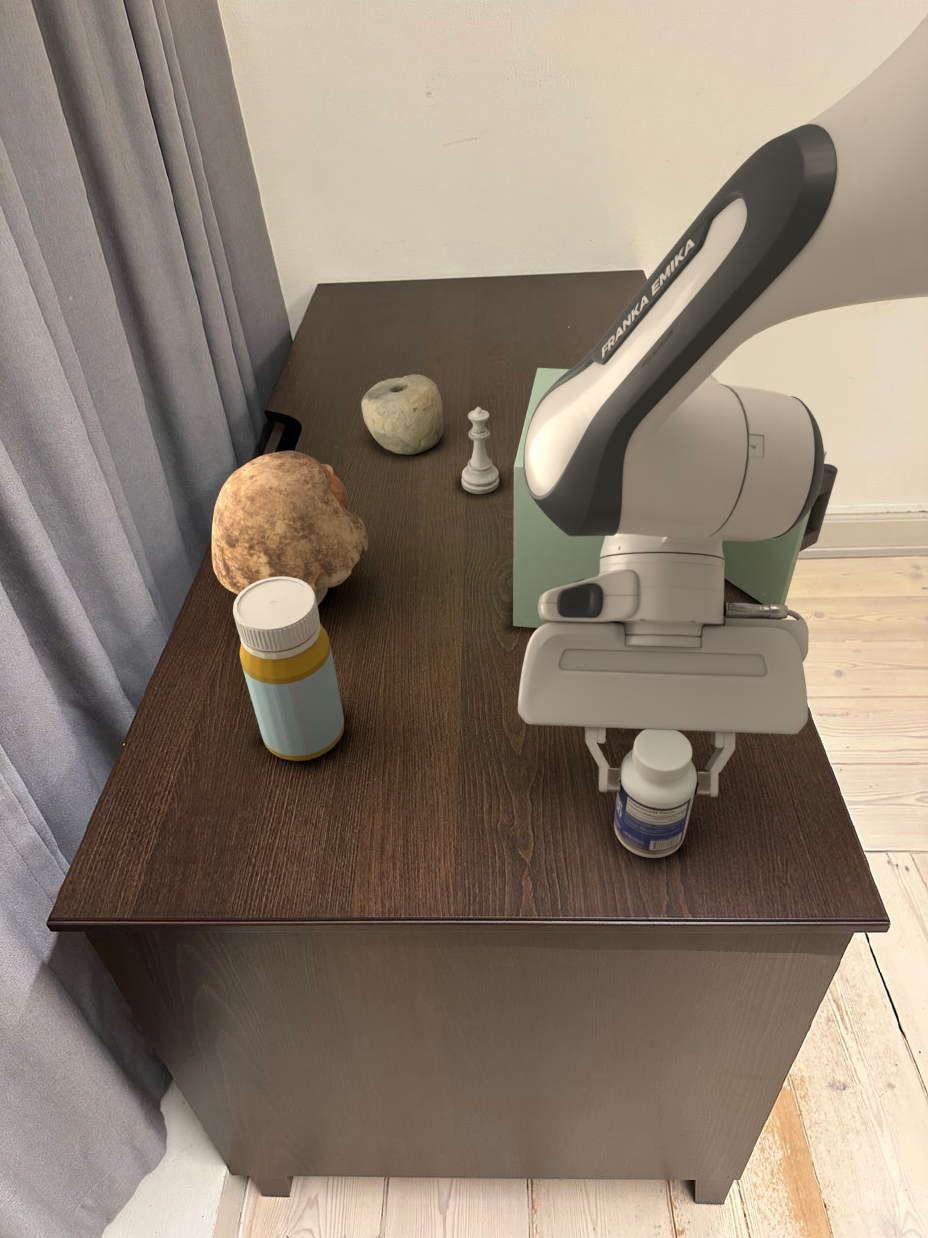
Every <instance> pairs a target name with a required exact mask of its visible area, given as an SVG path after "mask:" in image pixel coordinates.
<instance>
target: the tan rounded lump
mask: <svg viewBox="0 0 928 1238" xmlns="http://www.w3.org/2000/svg"><path fill="white" fill-rule="evenodd" d="M347 502H348V491H347V488H346V486H345V485H344V483H343V482H342V481H341V480H340V479H339V477H338V476H337V475H336V474H335V472H334V468H333V467H332V466H331V465H329V464H327V463H320V461H319V460H317V459H316V458H314V457H312V456H310V455H308V454H305V453H302V452H299V451H296V450H284V451H283V450H282V451H278V452H272V453H266V454H263V455H260V456H258V457H256V458H254V459H252V460H250V461H249V462H247V463H245V464H244V465H242V466H240V467H239V468H237V469H235V471H233V473H232V474H230V476H229V477H228V478H227V479H226V481H225V482H224V484H223V486H222V487H221V489H220V491H219V494H218V496H217V498H216V501H215V504H214V510H213V516H212V527H211V560H212V567H213V572H214V573H215V576H216V578H217V580H218V581H219V582H220V584H221V585H222V586H223V587H224V588H225V589H227V590H228V591H230V592H231V593H233V594H236V595H237V596H238V595H239V594H240V592H241V591H243V590H244V589H245V588H246V587H248V586H249V585H251V584H253V583H255V582H257V581H260V580H263V579H266V578H271V577H292V578H296V579H299V580H302V581H304V582H305V583H307V584H308V585H309V586H310V587H311V588H312V590H313V592H314V593H315V596H316V602H317V607H318V606H319V605H320V604H321V602H322V601H323V599H324V598H325V596H326V595H327V593H328V590H329V589H330V588H335V587H337V586H339V585H341V584H343V582H345V580H347V579H348V578H349V577H350V575H351V574H352V569H353V568H355V565H356V564H358V563H359V560H360V558H361V554H362V552H367V550H368V548H369V543H368V540H369V539H368V534H367V531H366V527H365V524H364V521H363V520H362V519H361V518H360V516H359V515H358V514H357V513H355V512H353V511H350V510H347V509H346V506H347ZM328 588H329V589H328Z"/></svg>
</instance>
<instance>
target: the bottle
mask: <svg viewBox="0 0 928 1238" xmlns="http://www.w3.org/2000/svg"><path fill="white" fill-rule="evenodd" d="M232 608H233V609H232V614H233V618H234V622H235V626H236V629H237V632H238V635H239V640H240V642H241V643H240V647H239V657H240V664H241V668H242V671H243V674H244V678H245V682H246V684H247V688H248V691H249V695H250V700H251V702H252V706H253V710H254V713H255V717H256V720H257V724H258V728H259V731H260V734H261V738H262V740H263V743H264V745H265V747H266V748H267V750H268V751H269V752H270V753H271V754H273V755H274V756H276V757H278V758H280V759H283V760H288V761H293V762H301V761H310V760H313V759H316V758H319V757H321V756H322V755H325V754H327V752H329V751H331V750H332V749H333V748H334V747H335V746H336V745H337V744H338V743H339V741H340V740H341V738H342V736H343V733H344V732H345V731H344V730H345V716H344V712H343V706H342V700H341V694H340V689H339V685H338V678H337V673H336V669H335V662H334V657H333V652H332V651H333V650H332V647H331V642H330V637H329V635H328V633H327V631H326V630H325V628H324V627H323V625H322V623H321V622H320V621H321V620H320V612H319V607H318V606H317V602H316V596H315V593H314V592H313V590H312V588H311V587H310V586H309V585H308V584H307V583H305V582H304V581H302V580H299V579H296V578H292V577H271V578H266V579H263V580H260V581H257V582H255V583H253V584H251V585H249V586H248V587H246V588H245V589H244V590H243V591H241V592H240V594H239V595H238V594H237V596H236V598H235V600H234V602H233V607H232Z"/></svg>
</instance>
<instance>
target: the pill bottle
mask: <svg viewBox="0 0 928 1238" xmlns="http://www.w3.org/2000/svg"><path fill="white" fill-rule="evenodd" d="M692 759H693V746H692V744H691V742H690V740H689V739H688V737H686V736H685V735H684V734H683V733H681V732H680V731H679V730H662V729H643V730H642V731H640V732H639V734H637V736H636V737H635V739H634V742H633V747H632V749H630V751H629V752H627V753H626V754H625V755H624V757H623V759H622V762H621V765H620V768H621V778H620V780H619V782H620V784H621V791H620V793H616V800H615V801H616V802H615V810H614V819H613V820H614V822H613V826H614V831H615V836H616V837H617V839H618V840H619V842H620V843H621V844H622V846H623V847H624V848H625V849H627V850H628V851H629V852H631V853H632V854H635V855H637V856H640V857H644V858H650V859H657V858H659V859H660V858H664V857H667V856H670V855H671V854H673V853H675V852H676V851H678V850H679V848H680V847H681V846H682V844H683V842H684V840H685V836H686V833H687V829H688V824H689V820H690V815H691V811H692V808H693V807H692V806H693V801H694V798H695V795H694V794H695V789H696V783H697V773H696V769H697V768H696V766H695V764H694V762H693V761H692Z"/></svg>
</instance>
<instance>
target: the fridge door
mask: <svg viewBox="0 0 928 1238" xmlns="http://www.w3.org/2000/svg"><path fill="white" fill-rule="evenodd" d="M827 454H828V453H827V451H826V450H824V461H826V457H827ZM838 472H839V470H838V468H837V466H835V465H834V464H830V463H824V473H823V480H822V485H821V488H820V491H819V494H818V497H817V499H816V501H815V503H814V505H813V506H812V508H811V509H810V511H809V512H808V514H807V515H806V516H805V517H804V518H803V519H802V520H801V521H800V522H799V523H798V524H797V525H796V526H795V527H794V528H793V529H791V530H790V531H789V532H787V533H786V534H784V535H783V536H781V537H778V538H770V539H765V540H760V541H754V542H741V541H723V543H722V549H723V554H724V559H725V560H724V561H725V563H724V580H726V581H728V582H729V583H730V584H732V585H734V586H735V587H736V588H738V589H739V590H741V591H743V592H744V593H746V594H747V595H748V596H750V597H752V598H754V600H756V601H758V602H759V603H760V604H761V605H767V604H783V605H786V601H787V597H788V594H789V590H790V587H791V583H792V580H793V576H794V572H795V570H796V569H795V568H796V565H797V561H798V558H799V554H800V553H801V552H803V551H804V550H807V549H808V548H809V547H811V546H813V545H815V544H817V543H818V541H819V538H820V533H821V530H822V527H823V523H824V520H825V517H826V513H827V510H828V506H829V502H830V500H831V495H832V492H833V489H834V485H835V482H836V479H837V475H838ZM762 590H763V591H762ZM764 594H765V596H764Z"/></svg>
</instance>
